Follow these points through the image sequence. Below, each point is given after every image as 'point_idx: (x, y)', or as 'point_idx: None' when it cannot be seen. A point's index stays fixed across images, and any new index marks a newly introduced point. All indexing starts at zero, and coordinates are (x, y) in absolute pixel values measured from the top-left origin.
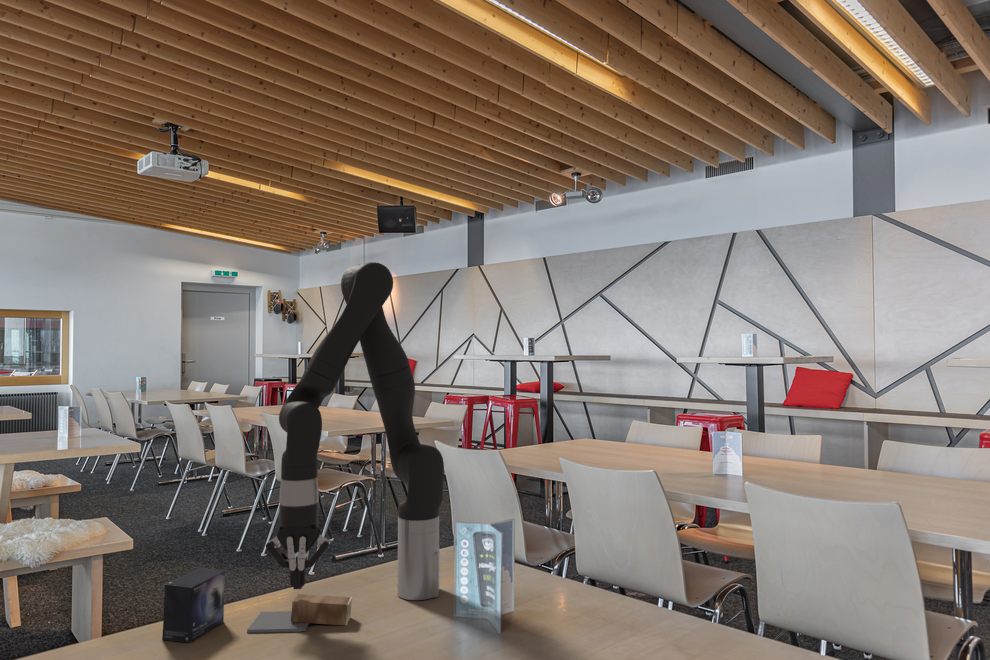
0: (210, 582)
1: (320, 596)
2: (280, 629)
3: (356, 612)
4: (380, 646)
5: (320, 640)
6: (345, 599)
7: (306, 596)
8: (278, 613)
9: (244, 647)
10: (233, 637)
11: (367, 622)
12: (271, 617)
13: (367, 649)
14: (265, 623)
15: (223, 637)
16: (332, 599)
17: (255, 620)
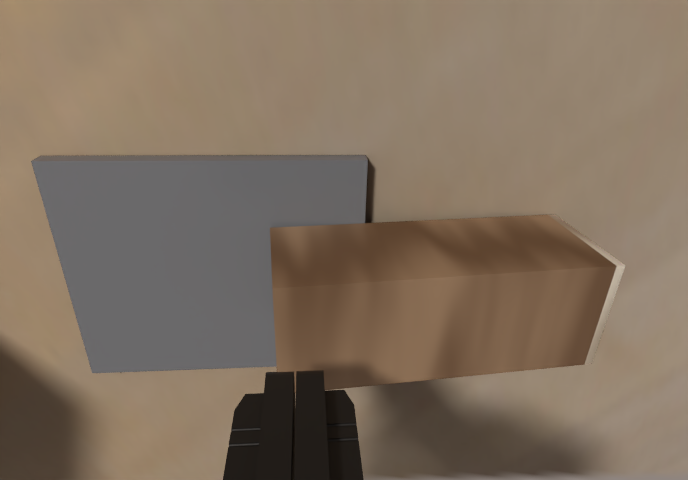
0: None
1: (432, 293)
2: (247, 364)
3: (592, 146)
4: (636, 449)
5: (431, 416)
6: (582, 301)
7: (343, 313)
8: (156, 192)
9: (159, 462)
10: (61, 397)
11: (627, 271)
12: (141, 246)
13: (591, 466)
14: (146, 314)
15: (15, 397)
16: (507, 320)
17: (71, 280)
